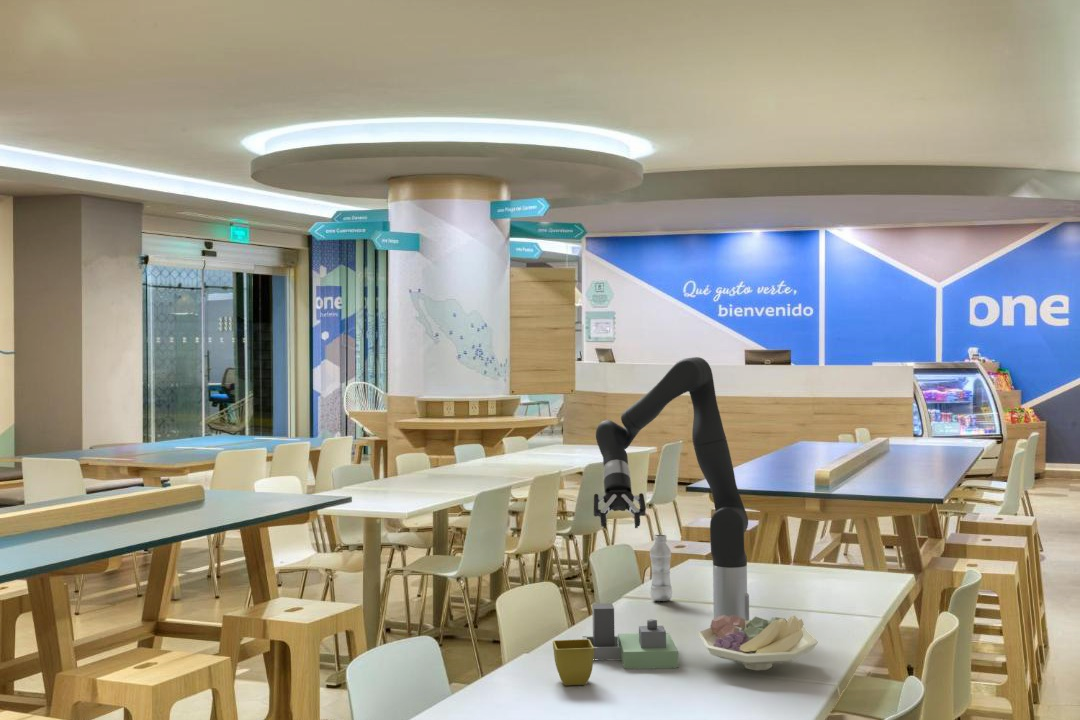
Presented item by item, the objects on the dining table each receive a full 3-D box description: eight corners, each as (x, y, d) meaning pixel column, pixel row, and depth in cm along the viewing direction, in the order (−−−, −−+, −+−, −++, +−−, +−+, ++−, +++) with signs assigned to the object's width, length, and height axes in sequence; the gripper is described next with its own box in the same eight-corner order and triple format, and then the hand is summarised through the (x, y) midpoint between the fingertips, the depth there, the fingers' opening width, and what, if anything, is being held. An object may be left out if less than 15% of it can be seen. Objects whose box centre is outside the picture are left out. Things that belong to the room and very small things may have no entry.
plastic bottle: (671, 603, 341) (670, 537, 341) (649, 603, 342) (648, 537, 342) (673, 599, 347) (672, 534, 347) (651, 598, 348) (650, 533, 348)
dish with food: (794, 690, 251) (793, 626, 251) (679, 673, 266) (678, 613, 266) (833, 660, 275) (832, 602, 275) (725, 646, 289) (724, 591, 289)
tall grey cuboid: (612, 650, 287) (612, 603, 287) (614, 656, 281) (614, 608, 281) (593, 650, 287) (592, 603, 287) (594, 657, 281) (594, 608, 281)
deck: (668, 646, 290) (667, 607, 290) (678, 667, 270) (677, 626, 270) (582, 647, 290) (582, 609, 290) (586, 669, 270) (585, 627, 270)
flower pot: (552, 678, 263) (552, 639, 263) (590, 676, 264) (589, 638, 264) (556, 689, 254) (556, 649, 254) (595, 687, 255) (594, 647, 255)
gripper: (592, 471, 315) (595, 518, 303) (643, 470, 315) (648, 517, 303) (591, 488, 320) (594, 535, 308) (641, 487, 320) (646, 534, 309)
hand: (620, 526), depth 306 cm, fingers open, 8 cm apart
